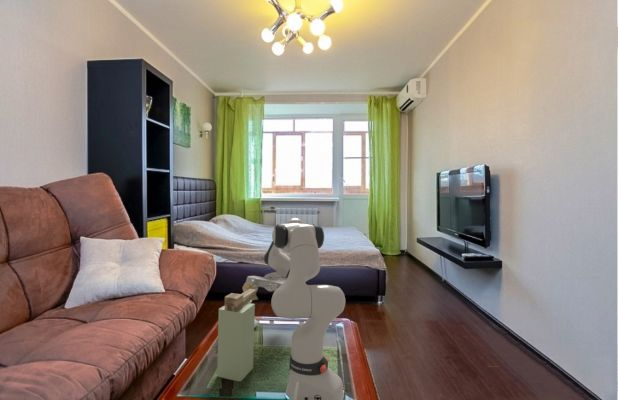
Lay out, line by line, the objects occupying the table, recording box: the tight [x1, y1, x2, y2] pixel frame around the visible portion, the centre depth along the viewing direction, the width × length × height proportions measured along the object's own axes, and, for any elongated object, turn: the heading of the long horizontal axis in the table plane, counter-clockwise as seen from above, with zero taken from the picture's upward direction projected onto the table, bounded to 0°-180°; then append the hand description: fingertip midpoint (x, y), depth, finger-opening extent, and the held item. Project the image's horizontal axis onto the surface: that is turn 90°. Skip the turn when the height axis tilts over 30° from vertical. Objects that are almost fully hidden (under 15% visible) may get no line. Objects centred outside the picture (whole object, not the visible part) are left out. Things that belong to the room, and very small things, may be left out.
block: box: [224, 289, 257, 312], centre depth 134 cm, size 5×18×5 cm, turn 162°
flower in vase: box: [242, 281, 259, 329], centre depth 171 cm, size 13×11×25 cm
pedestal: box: [216, 302, 256, 382], centre depth 131 cm, size 10×10×26 cm
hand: (261, 285), depth 155 cm, fingers open, 8 cm apart
